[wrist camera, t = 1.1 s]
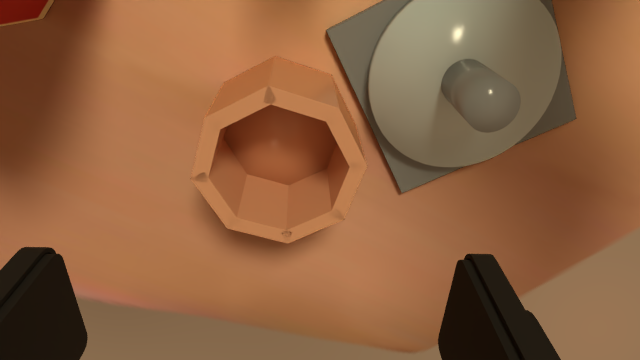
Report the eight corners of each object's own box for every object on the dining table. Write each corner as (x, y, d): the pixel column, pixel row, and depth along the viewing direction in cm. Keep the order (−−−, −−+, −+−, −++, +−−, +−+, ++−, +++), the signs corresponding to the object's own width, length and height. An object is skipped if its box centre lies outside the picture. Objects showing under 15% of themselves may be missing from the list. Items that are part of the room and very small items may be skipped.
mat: (531, -77, 27) (535, -77, 26) (571, 116, 33) (576, 118, 32) (326, 29, 29) (326, 31, 29) (400, 189, 35) (401, 193, 35)
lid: (529, -64, 26) (587, -66, 21) (568, 115, 32) (622, 151, 27) (336, 34, 29) (344, 56, 23) (405, 185, 35) (424, 230, 29)
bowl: (313, 36, 29) (316, 60, 23) (370, 155, 34) (385, 202, 28) (188, 100, 31) (161, 139, 25) (258, 205, 36) (249, 259, 30)
